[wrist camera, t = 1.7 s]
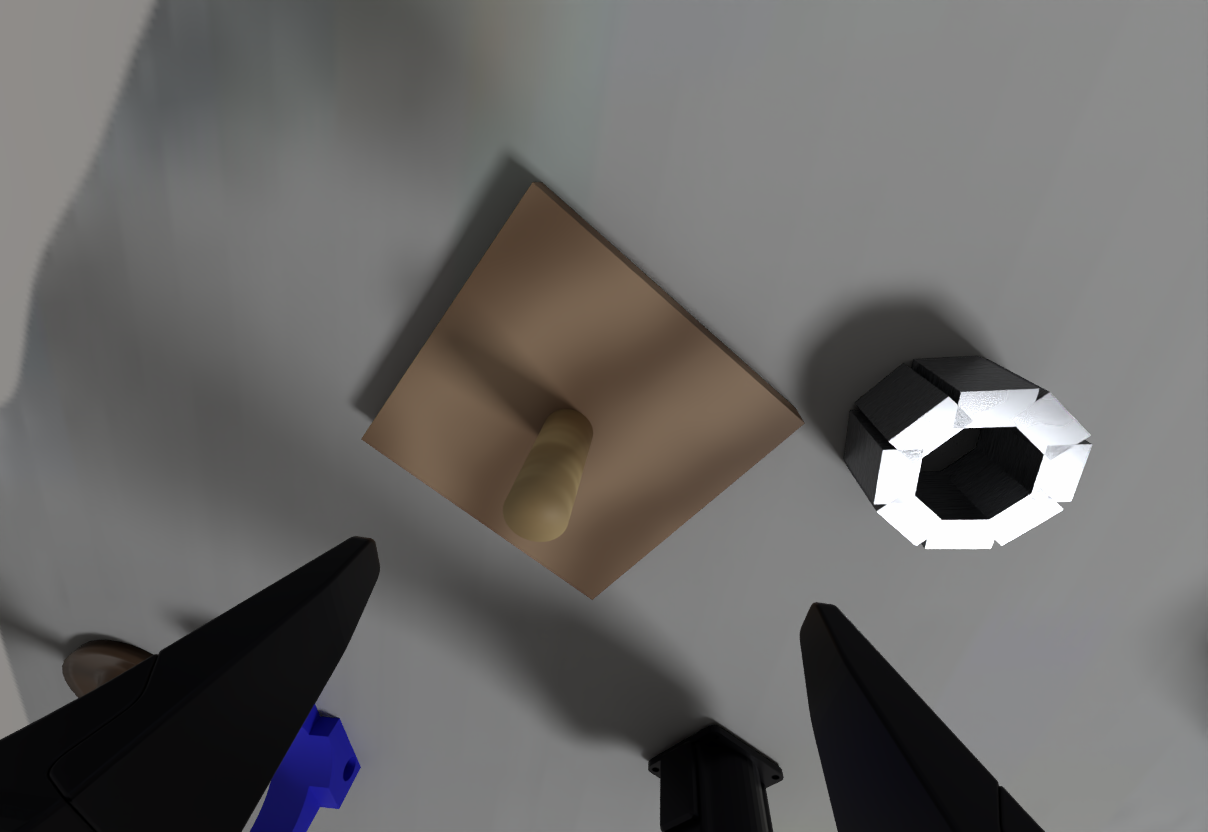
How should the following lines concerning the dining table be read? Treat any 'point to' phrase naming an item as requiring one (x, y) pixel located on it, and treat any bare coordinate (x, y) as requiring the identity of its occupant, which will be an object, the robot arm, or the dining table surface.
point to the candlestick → (99, 664)
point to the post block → (576, 401)
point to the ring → (979, 479)
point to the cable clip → (309, 776)
